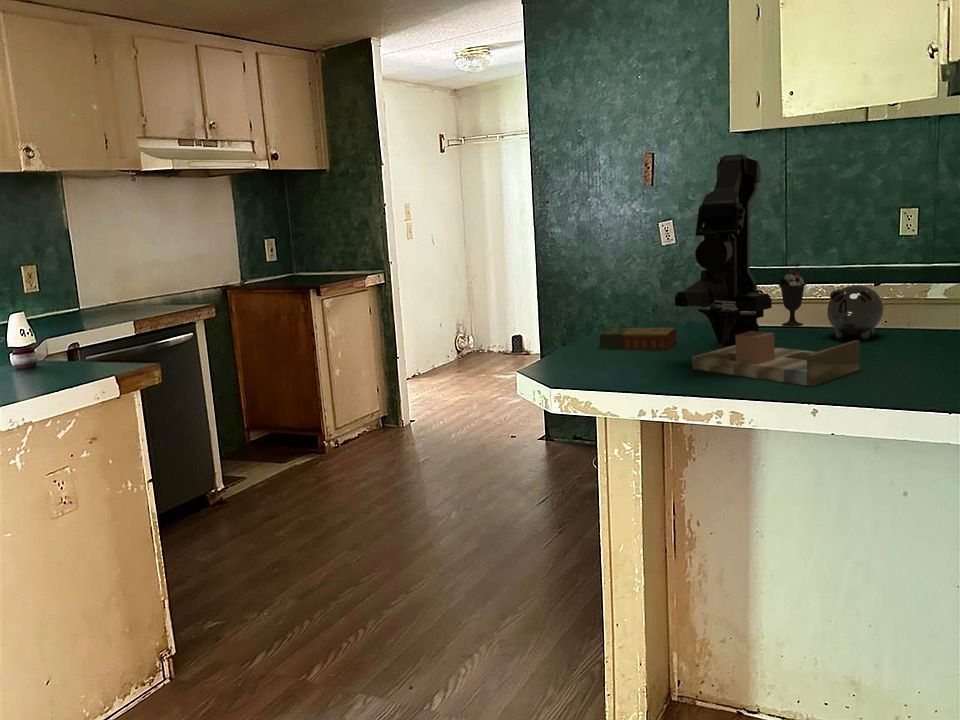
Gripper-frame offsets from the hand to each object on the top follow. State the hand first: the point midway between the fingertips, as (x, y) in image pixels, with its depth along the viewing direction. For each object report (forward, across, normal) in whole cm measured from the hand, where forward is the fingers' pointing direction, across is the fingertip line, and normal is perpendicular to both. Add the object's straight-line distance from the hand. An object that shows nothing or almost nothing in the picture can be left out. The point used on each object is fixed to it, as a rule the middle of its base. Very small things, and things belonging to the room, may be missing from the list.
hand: (721, 343), depth 162 cm
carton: (+5, -29, +8) cm, 31 cm away
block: (+2, +8, -1) cm, 8 cm away
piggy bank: (+5, +5, +41) cm, 42 cm away
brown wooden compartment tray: (+5, +9, +4) cm, 11 cm away
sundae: (+5, -15, +49) cm, 51 cm away
